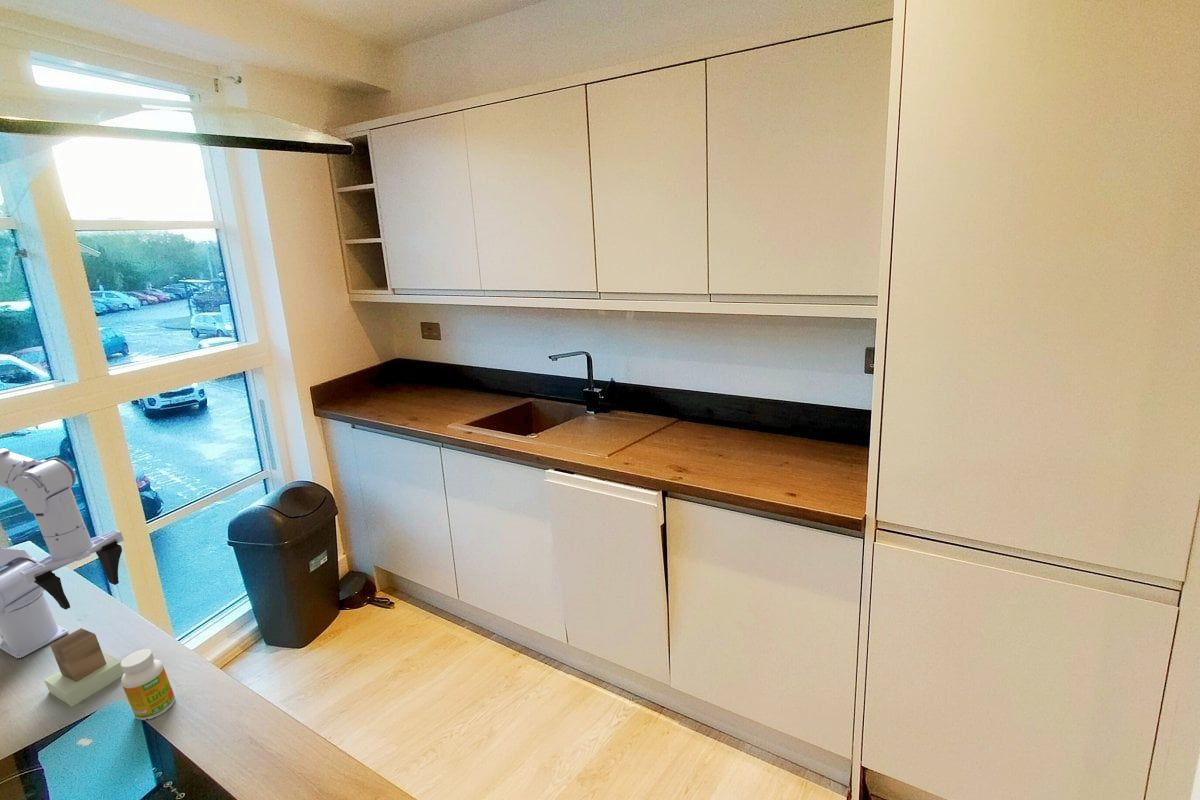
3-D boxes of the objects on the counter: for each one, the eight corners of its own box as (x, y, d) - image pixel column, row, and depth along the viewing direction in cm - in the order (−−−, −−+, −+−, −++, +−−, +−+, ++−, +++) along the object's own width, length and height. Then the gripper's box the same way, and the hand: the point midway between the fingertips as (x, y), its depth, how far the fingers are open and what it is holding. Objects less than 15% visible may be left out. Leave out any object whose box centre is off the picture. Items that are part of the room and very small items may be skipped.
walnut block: (61, 674, 104) (49, 644, 103) (92, 657, 108) (81, 628, 106) (76, 681, 102) (63, 651, 101) (106, 663, 106) (95, 633, 104)
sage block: (50, 694, 105) (43, 679, 104) (104, 662, 111) (98, 648, 110) (72, 709, 101) (66, 694, 100) (127, 675, 107) (121, 661, 106)
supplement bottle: (155, 722, 96) (134, 671, 93) (126, 719, 97) (105, 669, 94) (183, 696, 101) (165, 646, 98) (156, 693, 102) (137, 644, 99)
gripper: (22, 554, 101) (52, 624, 105) (121, 512, 113) (145, 577, 117) (3, 546, 104) (34, 614, 108) (102, 506, 116) (126, 569, 120)
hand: (90, 594), depth 113 cm, fingers open, 7 cm apart
